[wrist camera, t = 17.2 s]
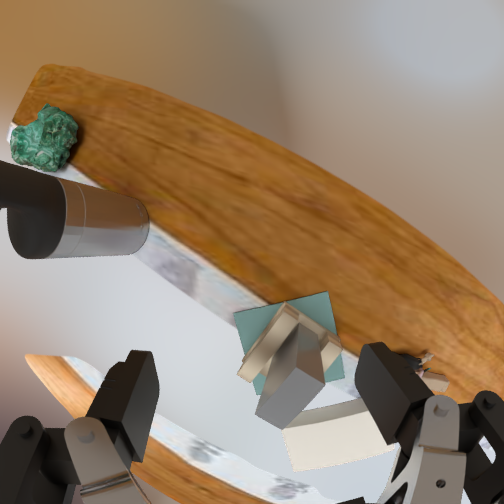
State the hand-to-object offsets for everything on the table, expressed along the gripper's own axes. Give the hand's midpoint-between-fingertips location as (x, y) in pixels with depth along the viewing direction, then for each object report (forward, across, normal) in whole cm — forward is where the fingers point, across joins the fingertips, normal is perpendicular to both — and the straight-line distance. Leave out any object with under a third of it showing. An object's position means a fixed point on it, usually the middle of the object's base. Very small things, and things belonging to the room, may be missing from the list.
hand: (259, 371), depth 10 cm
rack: (+23, -7, +15) cm, 28 cm away
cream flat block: (+17, -15, +29) cm, 37 cm away
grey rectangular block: (+21, -7, +14) cm, 27 cm away
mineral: (+44, +38, -16) cm, 60 cm away
